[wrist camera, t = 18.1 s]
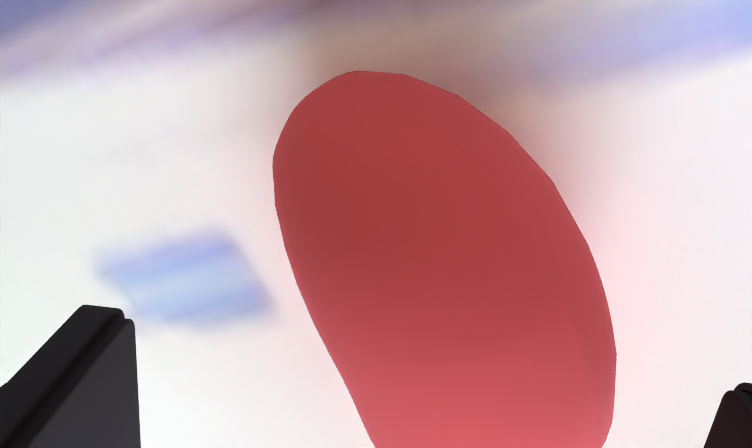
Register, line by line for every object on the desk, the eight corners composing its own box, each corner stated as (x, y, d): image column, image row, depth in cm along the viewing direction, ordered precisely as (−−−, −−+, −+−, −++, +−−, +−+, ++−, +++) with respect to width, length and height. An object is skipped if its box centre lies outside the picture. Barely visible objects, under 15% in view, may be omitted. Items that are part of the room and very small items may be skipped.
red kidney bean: (607, 60, 13) (516, -12, 8) (661, 490, 14) (610, 713, 8) (387, 109, 16) (202, 80, 10) (435, 471, 16) (279, 630, 11)
